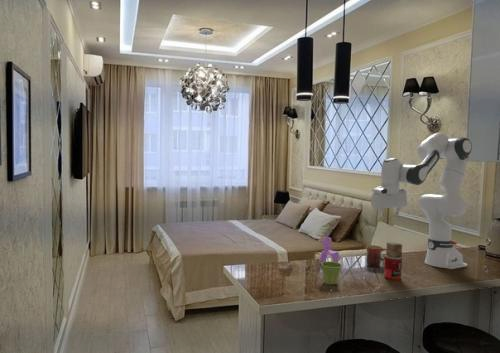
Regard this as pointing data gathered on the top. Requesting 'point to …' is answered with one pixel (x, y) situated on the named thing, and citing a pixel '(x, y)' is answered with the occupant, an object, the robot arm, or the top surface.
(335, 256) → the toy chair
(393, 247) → the walnut block
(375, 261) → the mug
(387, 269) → the canned food
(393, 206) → the robot arm
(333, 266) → the plant pot
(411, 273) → the top surface
